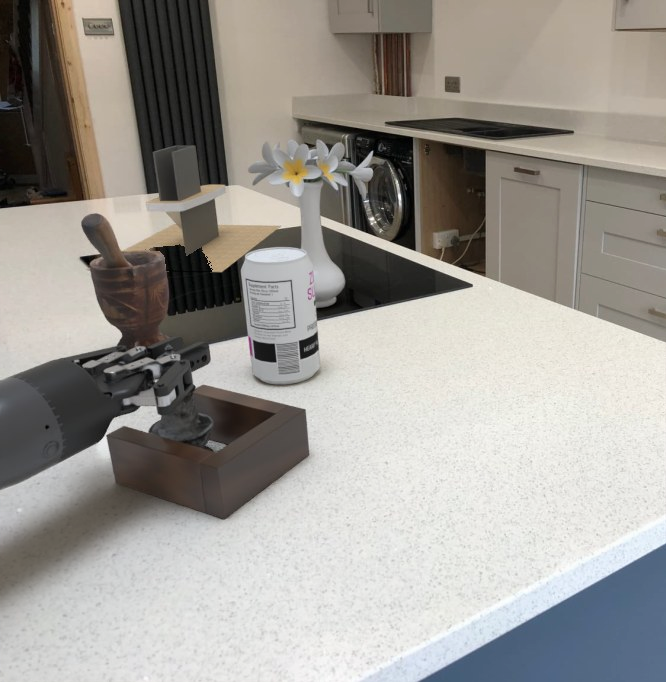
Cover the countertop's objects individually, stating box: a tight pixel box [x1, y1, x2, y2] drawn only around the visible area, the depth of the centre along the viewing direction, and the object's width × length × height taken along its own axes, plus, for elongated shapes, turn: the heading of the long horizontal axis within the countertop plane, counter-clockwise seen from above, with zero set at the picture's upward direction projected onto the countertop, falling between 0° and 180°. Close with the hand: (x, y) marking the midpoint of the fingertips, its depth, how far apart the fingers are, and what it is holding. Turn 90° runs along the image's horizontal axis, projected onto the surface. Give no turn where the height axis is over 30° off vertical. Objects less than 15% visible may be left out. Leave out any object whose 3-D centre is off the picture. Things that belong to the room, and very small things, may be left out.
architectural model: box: [86, 145, 281, 273], centre depth 147 cm, size 38×25×20 cm, turn 177°
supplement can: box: [240, 246, 321, 385], centre depth 88 cm, size 8×8×15 cm
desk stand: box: [105, 384, 310, 520], centre depth 69 cm, size 13×12×5 cm
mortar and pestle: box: [80, 212, 170, 351], centre depth 90 cm, size 12×9×20 cm
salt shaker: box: [147, 344, 215, 452], centre depth 69 cm, size 6×6×12 cm
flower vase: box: [247, 139, 374, 309], centre depth 112 cm, size 13×18×25 cm
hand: (193, 348), depth 70 cm, fingers closed on salt shaker, 2 cm apart
